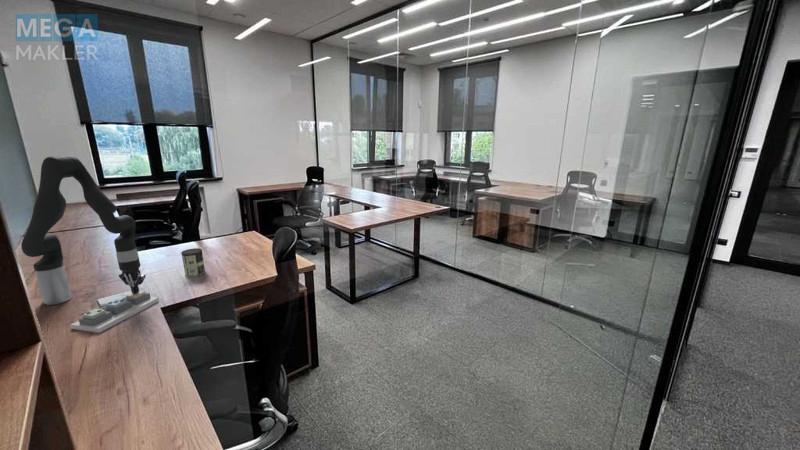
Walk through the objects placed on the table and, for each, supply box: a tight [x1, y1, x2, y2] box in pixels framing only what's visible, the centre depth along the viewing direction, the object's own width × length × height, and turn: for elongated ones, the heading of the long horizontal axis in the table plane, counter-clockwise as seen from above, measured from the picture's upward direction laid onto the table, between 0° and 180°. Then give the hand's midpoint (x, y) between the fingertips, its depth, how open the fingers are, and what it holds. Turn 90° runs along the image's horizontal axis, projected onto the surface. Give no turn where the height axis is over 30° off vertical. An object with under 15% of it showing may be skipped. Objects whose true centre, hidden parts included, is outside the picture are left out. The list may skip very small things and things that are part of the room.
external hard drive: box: [96, 290, 132, 308], centre depth 157 cm, size 2×8×12 cm
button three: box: [106, 299, 127, 309], centre depth 143 cm, size 5×5×3 cm
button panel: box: [70, 292, 160, 334], centre depth 144 cm, size 14×27×4 cm, turn 170°
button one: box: [126, 290, 147, 299], centre depth 152 cm, size 5×5×3 cm
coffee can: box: [180, 247, 206, 278], centre depth 187 cm, size 10×10×14 cm
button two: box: [82, 308, 106, 320], centre depth 134 cm, size 5×5×3 cm
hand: (135, 293), depth 151 cm, fingers closed
